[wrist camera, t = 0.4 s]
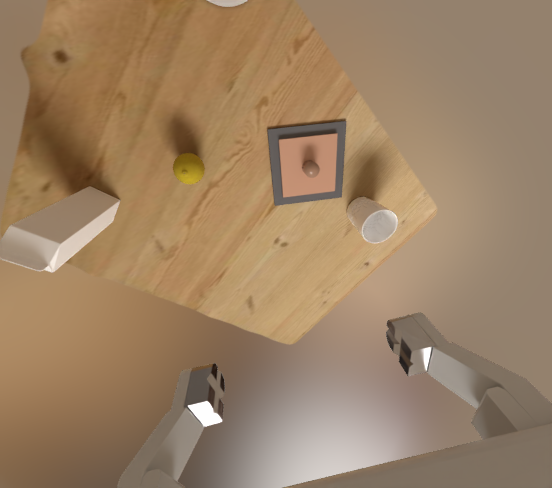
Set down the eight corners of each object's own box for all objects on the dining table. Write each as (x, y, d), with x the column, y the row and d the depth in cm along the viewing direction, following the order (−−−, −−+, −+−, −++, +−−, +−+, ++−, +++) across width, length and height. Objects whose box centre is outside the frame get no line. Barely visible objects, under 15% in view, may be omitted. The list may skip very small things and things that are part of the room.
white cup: (350, 229, 60) (368, 249, 51) (339, 205, 56) (356, 222, 48) (379, 213, 59) (402, 231, 50) (369, 187, 55) (392, 202, 46)
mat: (267, 129, 46) (267, 129, 46) (345, 121, 47) (346, 121, 47) (274, 205, 54) (274, 205, 54) (341, 196, 55) (341, 197, 55)
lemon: (194, 144, 46) (185, 150, 39) (212, 168, 48) (207, 178, 42) (173, 160, 47) (160, 168, 40) (192, 183, 49) (183, 194, 43)
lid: (278, 139, 47) (281, 141, 44) (336, 133, 47) (343, 134, 44) (282, 196, 53) (285, 202, 50) (333, 190, 54) (339, 195, 50)
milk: (113, 221, 52) (37, 287, 33) (82, 208, 49) (-18, 271, 31) (121, 199, 49) (45, 256, 31) (89, 184, 47) (-14, 236, 28)
